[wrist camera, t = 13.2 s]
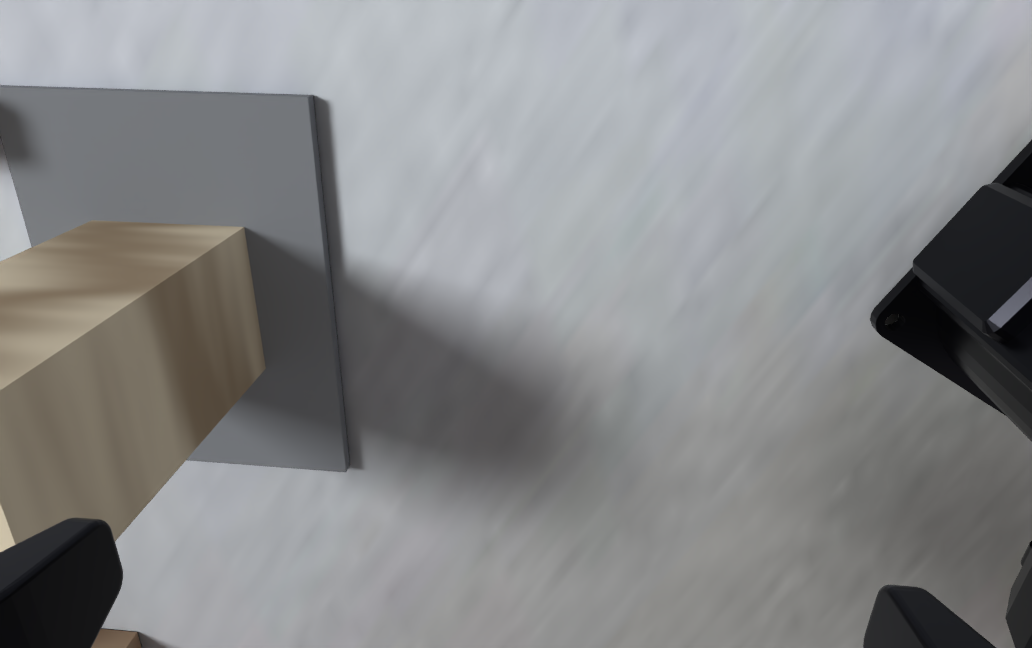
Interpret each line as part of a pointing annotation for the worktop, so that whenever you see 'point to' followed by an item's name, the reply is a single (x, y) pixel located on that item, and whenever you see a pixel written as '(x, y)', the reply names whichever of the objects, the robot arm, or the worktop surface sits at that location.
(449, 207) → the worktop surface
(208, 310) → the beech block
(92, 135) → the rubber mat
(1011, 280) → the robot arm
